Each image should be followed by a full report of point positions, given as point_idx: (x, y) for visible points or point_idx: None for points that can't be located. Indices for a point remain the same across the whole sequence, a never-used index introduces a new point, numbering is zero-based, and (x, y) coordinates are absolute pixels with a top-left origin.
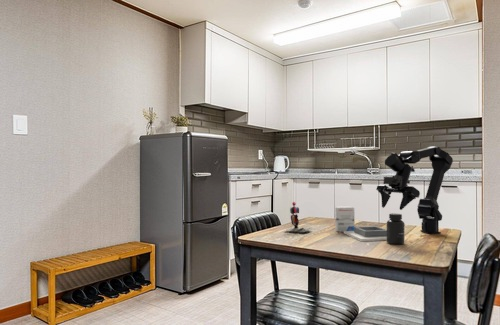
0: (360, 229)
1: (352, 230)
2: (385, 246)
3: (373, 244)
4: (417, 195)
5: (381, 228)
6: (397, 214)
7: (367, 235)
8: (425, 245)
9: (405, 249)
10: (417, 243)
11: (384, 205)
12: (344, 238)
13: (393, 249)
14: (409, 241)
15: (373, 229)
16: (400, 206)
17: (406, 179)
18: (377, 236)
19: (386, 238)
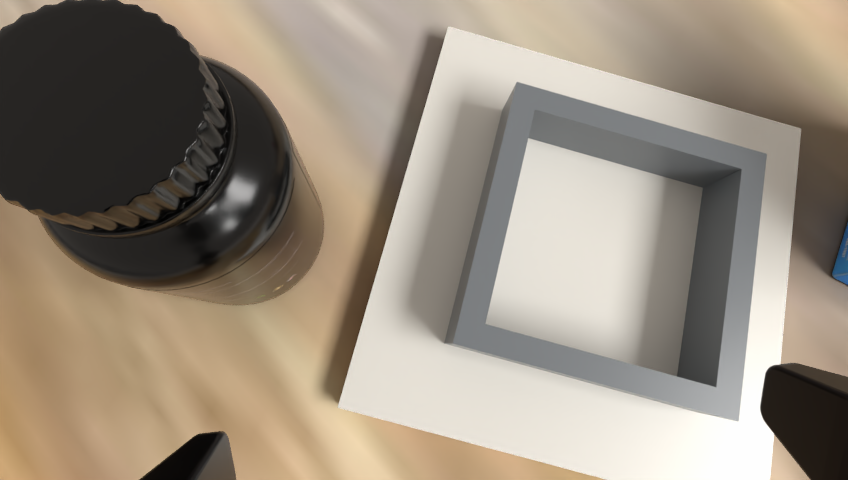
0: (619, 112)
1: (845, 255)
2: None
3: (310, 42)
4: None
5: (586, 358)
6: (19, 90)
7: (500, 125)
8: (34, 422)
9: None
10: (138, 423)
11: (813, 447)
12: (591, 3)
13: None
14: (244, 425)
15: (697, 359)
16: (175, 472)
17: None
18: (473, 223)
19: (384, 251)
